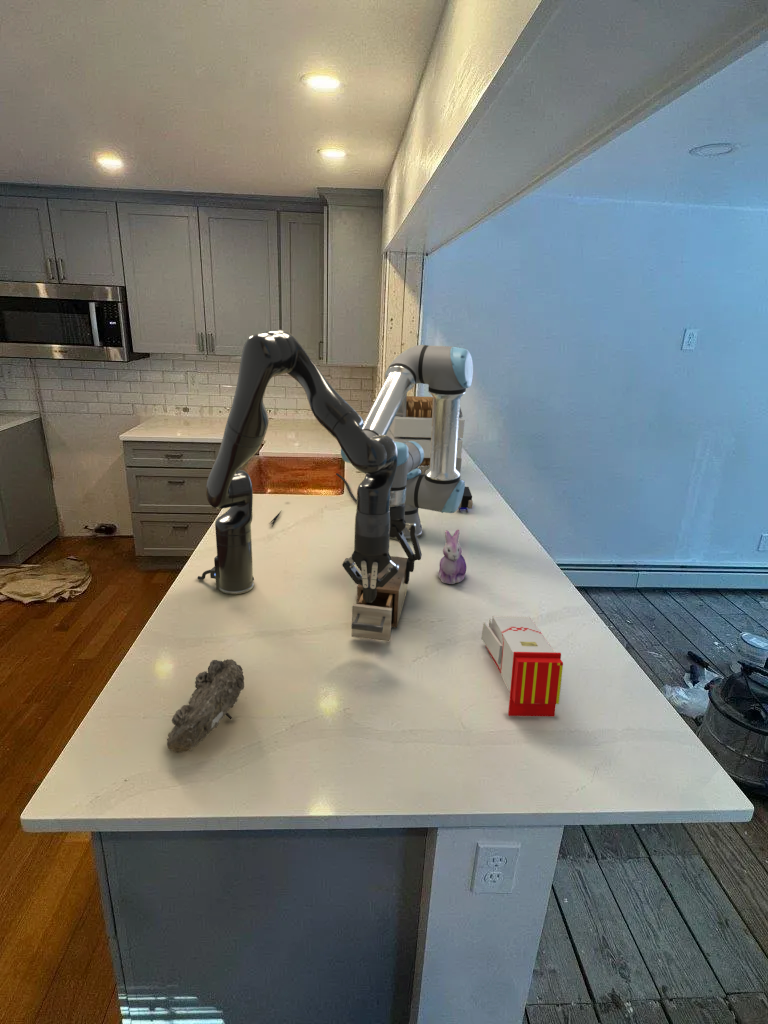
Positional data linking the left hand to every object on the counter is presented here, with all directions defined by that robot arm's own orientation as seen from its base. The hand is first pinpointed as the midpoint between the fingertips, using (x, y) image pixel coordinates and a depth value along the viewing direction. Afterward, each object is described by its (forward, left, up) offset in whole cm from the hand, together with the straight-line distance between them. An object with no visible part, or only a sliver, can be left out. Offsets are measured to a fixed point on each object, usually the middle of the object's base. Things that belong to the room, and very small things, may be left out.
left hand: (369, 601), depth 127 cm
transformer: (-7, +154, -13) cm, 154 cm away
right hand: (0, +26, -8) cm, 28 cm away
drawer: (0, +10, -12) cm, 15 cm away
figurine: (+16, +43, -13) cm, 48 cm away
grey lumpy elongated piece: (-24, -29, -13) cm, 40 cm away
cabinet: (0, +21, -13) cm, 25 cm away
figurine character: (+16, +107, -13) cm, 109 cm away
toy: (+33, -2, -13) cm, 36 cm away
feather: (-50, +79, -13) cm, 95 cm away
